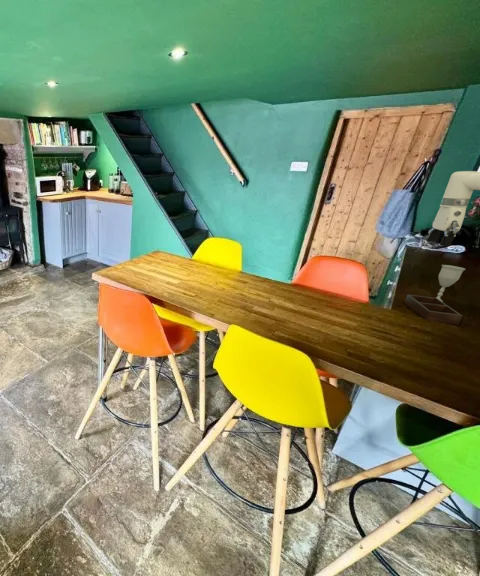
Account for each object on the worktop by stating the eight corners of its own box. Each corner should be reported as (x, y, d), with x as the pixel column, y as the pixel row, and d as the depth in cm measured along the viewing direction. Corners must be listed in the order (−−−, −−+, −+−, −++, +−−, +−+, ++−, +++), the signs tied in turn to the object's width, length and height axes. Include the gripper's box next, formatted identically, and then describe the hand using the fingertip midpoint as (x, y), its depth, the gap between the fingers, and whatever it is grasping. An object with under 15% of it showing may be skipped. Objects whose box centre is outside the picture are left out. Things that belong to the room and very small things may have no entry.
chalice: (448, 305, 140) (466, 268, 134) (445, 308, 136) (464, 270, 130) (426, 299, 146) (443, 264, 139) (422, 302, 142) (440, 265, 136)
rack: (432, 308, 137) (436, 297, 135) (457, 327, 121) (462, 315, 119) (403, 304, 141) (407, 294, 139) (423, 322, 125) (428, 311, 123)
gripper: (481, 205, 116) (462, 248, 122) (453, 201, 131) (438, 240, 137) (454, 204, 119) (437, 247, 125) (430, 201, 134) (416, 239, 140)
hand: (438, 243), depth 131 cm, fingers open, 9 cm apart
